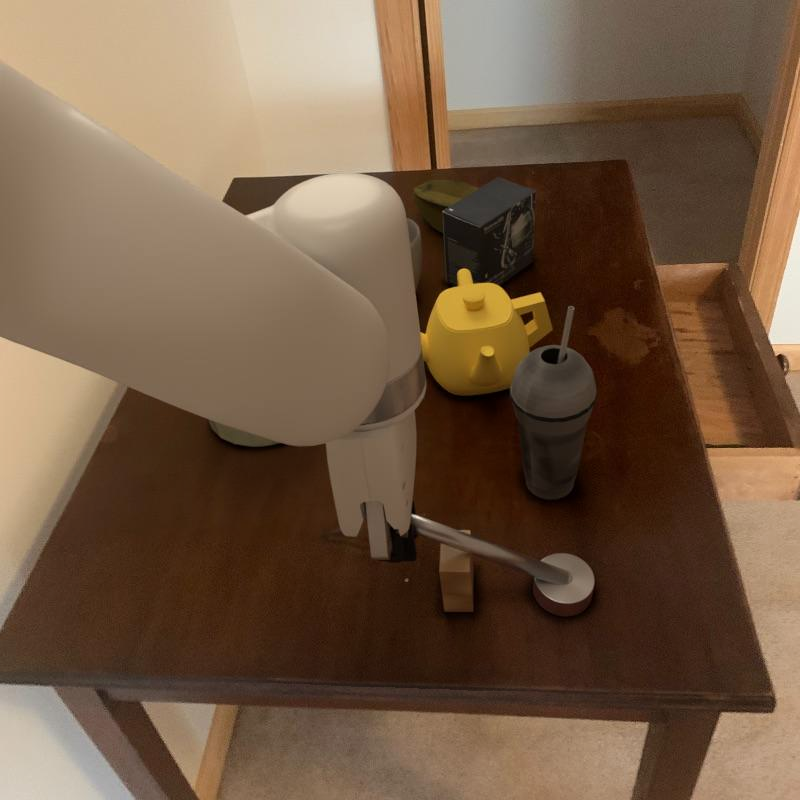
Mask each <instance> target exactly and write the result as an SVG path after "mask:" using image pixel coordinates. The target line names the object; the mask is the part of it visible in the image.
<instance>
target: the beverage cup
mask: <svg viewBox="0 0 800 800" xmlns="http://www.w3.org/2000/svg"><path fill="white" fill-rule="evenodd" d="M566 311H567V312H566V317H565V321H564V327H563V333H562V338H561V342H560V345H559V344H558V345H557V344H548V345H547V344H546V345H543V346H540V347H537V348H535V349H534V350H531V351H530V353H529V354H527V355H526V356H525V357H524V358H523V359H522V361H521V362H520V363H519V364H518V366H517V368H516V370H515V373H514V376H513V379H512V384H511V387H510V388H509V400H510V401H511V403H512V407H513V408H512V409H513V412H514V415H515V417H516V422H517V429H518V434H519V435H518V436H519V445H520V452H521V459H522V468H523V475H524V479H525V485H526V487H527V489H528V491H529V492H530V493H532V494H533V496H536V497H537V498H540V499H543V500H548V501H549V500H551V501H552V500H558V499H559V500H560V499H562V498H564V497H566V496H568V495H569V494H570V493H571V492H572V491H573V489H574V486H575V482H576V481H575V480H576V479H577V475H578V474H577V473H578V471H579V465H580V460H581V456H582V450H583V446H584V440H585V435H586V432H587V427H588V421H589V420H590V418H591V414H592V412H593V408H594V406H595V405H596V402H597V398H598V391H597V387H596V386H597V385H596V381H595V376H594V375H595V374H594V371H593V369H592V367H591V366H590V363H588V362H587V361H586V359H585V358H584V356H583V355H582V354H580V353H579V352H577V351H576V350H574V349H572V348H570V347H568V343H569V338H570V333H571V327H572V323H573V317H574V312H575V307H574V306H573V305H569V306H568V307H567V310H566Z"/></svg>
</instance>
